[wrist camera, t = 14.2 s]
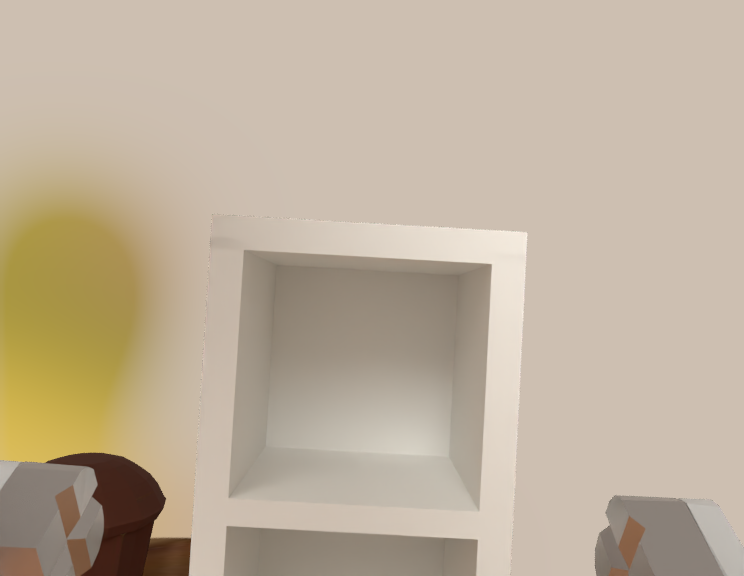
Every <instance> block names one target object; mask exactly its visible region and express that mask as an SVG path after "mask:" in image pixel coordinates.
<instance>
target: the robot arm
mask: <svg viewBox="0 0 744 576" xmlns="http://www.w3.org/2000/svg"><path fill="white" fill-rule="evenodd" d="M97 485H98V484H97V480H96V476H95V472H94V469H92V468H90V467H86V466H74V465H61V464H49V463H37V462H16V461H4V460H0V576H81V575H82V574H84V573H85V572H86V571H88V570H89V569H90V568H92V565H93V563H94V561H95V559H96V556H97V554H98V552H99V549H100V545H101V540H102V536H103V532H104V515H103V510H102V505H101V504H99V503H98V502H97V501H96V500H95V499H94V498H93V497H92V495H93V493H94V491H95V489H96V487H97ZM606 515H607V518H608V520H609V523H610V526H608V527H607V528H606V529H604V530H603V531H602V532H600V533H599V536H598V540H597V544H596V548H595V569H596V574H597V576H744V547H743V545H742V544H741V542H740V540H739V539H738V537H737V535H736V534H735V532H734V530H733V529H732V527H731V525H730V524H729V522H728V520H727V519H726V517H725V515H724V513H723V512H722V510H721V508H720V507H719V505H718V504H716V503H715V502H714V501H713V500H705V499H683V498H679V499H676V498H659V497H638V496H616V495H615V496H614V497H613V498H612V499H611V500H610V502H609V504H608V508H607V510H606Z"/></svg>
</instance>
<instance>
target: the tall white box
mask: <svg viewBox="0 0 744 576" xmlns="http://www.w3.org/2000/svg"><path fill="white" fill-rule="evenodd" d="M526 250H527V232H516V231H498V230H480V229H464V228H463V229H462V228H445V227H429V226H428V227H427V226H410V225H394V224H375V223H358V222H341V221H324V220H306V219H289V218H270V217H254V216H253V217H252V216H236V215H219V214H212V223H211V239H210V255H209V270H208V286H207V302H206V317H205V332H204V348H203V363H202V379H201V396H200V412H199V427H198V441H197V458H196V473H195V489H194V505H193V520H192V535H191V551H190V566H189V576H510V575H511V554H512V534H513V514H514V494H515V472H516V452H517V431H518V412H519V391H520V371H521V352H522V351H521V350H522V331H523V311H524V291H525V289H524V288H525V271H526Z"/></svg>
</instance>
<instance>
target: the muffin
mask: <svg viewBox="0 0 744 576" xmlns="http://www.w3.org/2000/svg"><path fill="white" fill-rule="evenodd" d="M46 463H49V464H61V465H74V466H86V467H90V468H92V469H94V472H95V476H96V480H97V484H98V485H97V487H96V489H95V491H94V493H93V495H92V497H93V498H94V499H95V500H96V501H97V502H98V503H99V504H101V505H102V510H103V515H104V532H103V536H102V540H101V545H100V549H99V552H98V554H97V556H96V559H95V561H94V563H93V565H92V568H90V569H89V570H88V571H86V572H85V573H84V574H82V575H81V576H142V574H143V569H144V565H145V560H146V556H147V551H148V547H149V542H150V537H151V533H152V528H153V524H154V520H155V519H157V517H158V515H159V514H160V513H161V511H162V510H163V508H164V504H165V500H166V498H165V497H164V495H163V493H162V491H161V489H160V487H159V485H158V483H157V482H156V481H155V479H154V478H153V477H152V476H151V474H150V473H148V472H147V471H146V470H144V469H142V468H141V467H140V466H138V465H137V464H135V463H134V462H132V461H130V460H128V459H126V458H124V457H122V456H116V455H111V454H105V453H80V454H73V455H68V456H64V457H60V458H57V459H54V460H50V461H47V462H46Z"/></svg>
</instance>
